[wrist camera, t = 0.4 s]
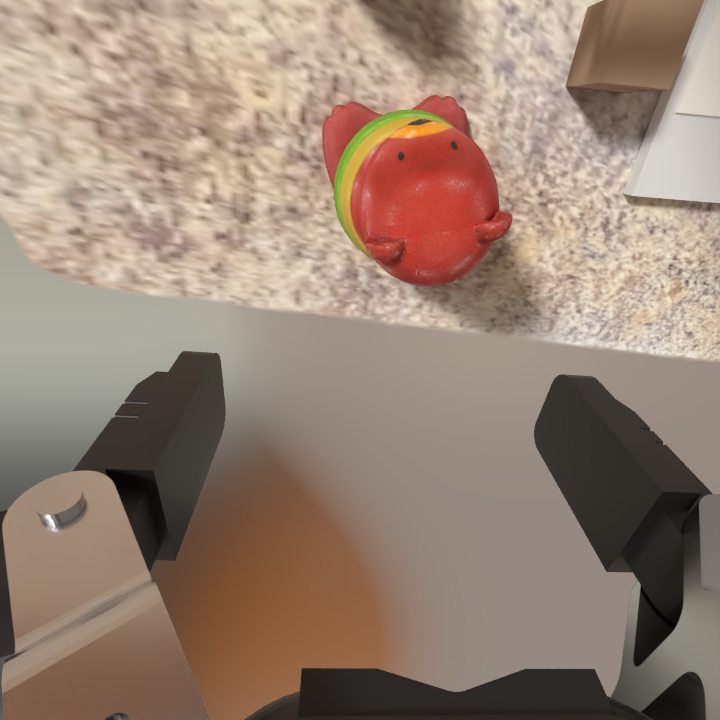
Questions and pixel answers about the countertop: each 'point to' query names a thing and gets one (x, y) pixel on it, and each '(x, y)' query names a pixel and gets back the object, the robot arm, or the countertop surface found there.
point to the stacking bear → (413, 189)
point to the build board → (686, 124)
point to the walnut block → (632, 44)
